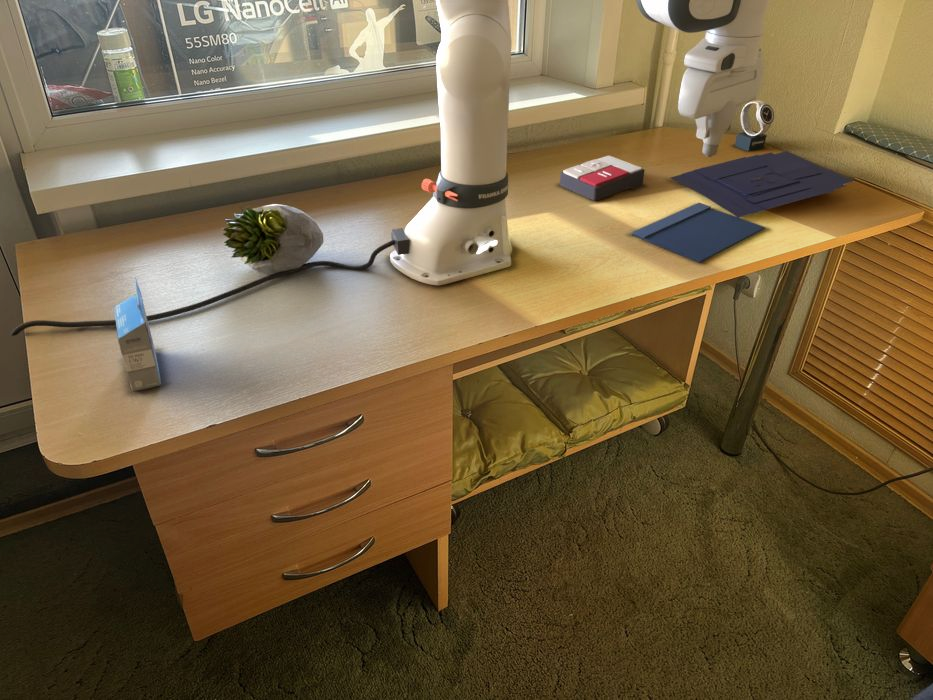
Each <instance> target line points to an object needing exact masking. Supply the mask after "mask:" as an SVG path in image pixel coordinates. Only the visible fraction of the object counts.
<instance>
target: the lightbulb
mask: <svg viewBox="0 0 933 700" xmlns="http://www.w3.org/2000/svg"><path fill="white" fill-rule="evenodd" d="M735 116H736V117H737V115H736V105H735V102H734V101H732V100H731V101H729V102H727V103H726V105H725V106H724V107H723V109H722V110H721V111H719V112H716V113H713V114H711V118H710V120H708V127H709V128H711V131H710V136H709V137H708V138H706V139H703V140H702V142H703V143H702V144H703V145H702V150H701V151H702V152H701V153H702V154H703V155H705V157H707V158H711V157H713V156H716V155H717V154H718V150H719V146H720V144H721V142H722V139H723V137H724V134H725V133H726V132H727V131H726V129H727V128H728V127H729V126H730V124H731V123H732V122H733V123H734V121H735V119H736V117H735ZM734 118H735V119H734Z"/></svg>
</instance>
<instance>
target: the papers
mask: <svg viewBox="0 0 933 700" xmlns="http://www.w3.org/2000/svg"><path fill="white" fill-rule="evenodd" d="M669 179H671V180H673V181H675V182H677V183H679V184H681V186H682V185H683V186H684V187H686V188H688V189H690V190H691V191H694V192H696V193H698V194H699V195H701V196H703V197H705V198H706V199H708V200H709V201H710V202H713V203H715V204H716V205H718V206H719V207H721V209H724V210H725V211H727V212H728V213H730V214H731V215H732V216H735V217H738V218H741V217H745V216H750V215H754V214H757V213H761V212H764V211H769V210H770V209H774V208H777V207H781V206H784V205H788V204H792V203H795V202H798V201H802V200H807V199H809V198H813V197H817V196H822V195H826V194H829V193H832V192H836V190H838V189H842V188H847V185H846V184H849V183H853V182H856V180H855V179H852V178H850V177H849V176H848V177H847V176H845V175H843V174H840V173H838V172H836V171H833V170H832V169H831V170H830V169H829V168H826V167H824V166H822V165H819V164H816V163H814V162H812V161H810V160H808V159H805V158H803V157H801V156H799V155H796V154H794V153H793V152H790V151H787V150H786V151H782V152H778V153H774V152H767V153H763V154H755V155H754V154H753V155H750V156H744V157H740V158H735V159H732V160H728V161H724V162H720V163H716V164H712V165H708V166H703V167H701V168H697V169H693V170H690V171H687V172H683V173H681V174H678V175H674V176H671V177H669Z"/></svg>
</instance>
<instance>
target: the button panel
mask: <svg viewBox="0 0 933 700" xmlns="http://www.w3.org/2000/svg"><path fill="white" fill-rule="evenodd" d="M645 171H646V170H645V169H644V168H643V167H641V166H639V165H636V164H633V163H630V162H627V161H625V160H622V159H619V158H617V157H614V156H612V155H605V156H603V157H599V158H597V159H596V158H594V159H592V160H588V161H585V162H583V163H581V164H577V165H574V166H571V167H568V168H566V169H563V171H561V172H559V186H560V187H562V188H564V189H567V190H569V191H571V192H573V193H575V194H578V195H580V196H582V197H584V198H587V199H590V200H592V201H595V202H597V201H599V200H601V199H604V198H607V197H609V196H612V195H614V194H617V193H620V192H622V191H625V190H628V189H630V190H634V189H636V188H639V187H642V186H643V185H644V178H645Z"/></svg>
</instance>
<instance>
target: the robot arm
mask: <svg viewBox="0 0 933 700" xmlns="http://www.w3.org/2000/svg"><path fill="white" fill-rule="evenodd" d="M635 2H636V4H637V8H638V10H639V12H640V13H641V15H642V16H643V17H644V18H646V19H647V20H648V21H650V22H654V23H656V24H662V25H664V26H666V27H668V28H670V29H673V30H676V31H678V32H681V33H686V34H692V33H693V34H694V33H700V32H705V36H704V38H701V40H700V41H699V42H698V43H697V44H696V45H695V46H694V47H692V48H691V49H690V50H688V51H687V52H686V53H685V56H684V60H683V62H684V63H683V64H684V65H683V66H684V67H687V68H686V70H684V73H683V76H682V80H681V85H680V88H679V89H680V90H679V96H678V104H677V109H678V113H679V115H680V116H681V117H685V118H689V119H692V120H695V124H696V134H695V137H696V138H697V139H699V140H702V141H703V139H706V138H708V137H709V136H710V131H711V128H709V127H708V120H710V118H711V114H713V113H716V112H719V111H721V110H722V109H723V107H724V106H725V105H726V103H727V102H729V101H731V100H732V101H734V102H735V105H736V116H735V118H734V120H735V119H736V117H737V115H738V114H739V112H740V110H741V106H742V105H743V104H747V103H749V102H753V101H756V100H757V98H758V96H759V94H760V92H761V87H762V83H763V82H762V81H763V75H764V67H765V61H764V59H763V50H762V48H761V44H762V39H763V34H764V19H765V15H766V13H767V10H768V8H769V7H770V2H771V0H635ZM435 4H436V8H437V12H438V19H439V20H438V21H439V25H440V26H439V27H440V31H441V32H440V33H441V36H440V37H441V39H440V40H441V41H440V43H439V44H438V48H437V51H436V59H435V60H436V62H435V63H436V84H437V85H436V86H437V101H438V113H439V121H440V122H439V123H440V169H441V170H440V172H439V173H438V176H437V179H436V181H433V180H431V179H430V178H425V179H423V180H422V182H421V184H420V185H421V189H422V190H423V191H424V192H428V193H429V194H432V197H431V198H430V200H429V201H428V202H427V203H426V204H425V205H424V207H422V209H420V211H419V212H418V213H417V214H416V215H415V216H414V217H413V218H412V219H411V220H410V222H409V223H408V224H406V226H405V229H403V227H402V228H401V227H400V228H391V229H390V235H391V237H390V238H391V240H390V241H387V242H385V243H383V244H381V245H379V246H378V247H377V248H376V249H374V250H373V251H372V253H371V255H370V257H369V260H368V261H367V262H366V263H364V264H360V265H349V264H344V263H340V262H336V261H330V260H316V261H310V262H306V263H305V264H303V265H302V266H301V267H300V268H296V269H292V270H287V271H282V272H278V273H274V274H272V275H268V276H267V275H265V276H264V277H261V278H258V279H256V280H254V281H251V282H249V283H245V284H244V285H242V286H239V287H236V288H234V289H230V290H228V291H226V292H223V293H220V294H218V295H215V296H213V297H210V298H208V299H205V300H202V301H199V302H195V303H193V304H189V305H186V306H183V307H179V308H175V309H171V310H168V311H164V312H159V313H154V314H150V315H146V316H147V320H148V322H151V321H156V320H162V319H166V318H170V317H174V316H177V315H181V314H185V313H188V312H191V311H194V310H197V309H200V308H203V307H206V306H208V305H209V306H210V305H211V304H214V303H216V302H219V301H222V300H224V299H227V298H230V297H232V296H235V295H238V294H240V293H243V292H245V291H248V290H250V289H252V288H254V287H257V286H259V285H262V284H264V283H267V282H269V281H273V280H275V279H278V278H281V277H283V276H286V275H289V274H292V273H295V272H298V271H300V270H301V271H302V270H304V269H309V268H314V267H321V266H323V267H333V268H337V269H345V270H352V271H364V270H366V269H369V268H371V267H372V266H373V264H374V262H375V259H376V257H377V256H378V255H379V254H380V253H381V252H382V251H384V250H386V249H388V248H390V247H392V246H393V248H394V250H393V251H391V252H390V254H389V261H390V263H391V265H392V266H393V267H394V268H395V269H397V270H398V271H399V272H400V273H402V274H404V276H407V277H409V278H410V279H412V280H414V281H417V282H420V283H423V284H426V285H431V286H437V287H438V286H444V285H447V284H448V285H449V284H451V283H455V282H458V281H463V280H466V279H469V278H474V277H477V276H480V275H481V276H482V275H485V274H489V273H492V272H495V271H498V270H503V269H506V268H509V267H511V266H512V258H511V254H512V252H513V246H512V243H511V239H510V234H509V227H508V226H509V225H508V215H507V197H508V195H509V185H510V184H509V173H508V171H507V162H508V157H507V156H508V137H509V135H508V134H509V109H510V108H509V106H510V87H511V82H510V81H511V62H512V61H511V60H512V30H511V19H510V7H509V0H435ZM733 125H734V121H733V122H732V123H731V124H730V126H729V127H728V128H727V129H726V131H725V132H727V131H730V130H732V128H733ZM111 326H116V319H109V320H108V319H107V320H84V321H83V320H82V321H57V320H44V319H43V320H42V319H40V320H39V319H38V320H37V319H36V320H29V321H25V322H23V323H21V324H19V325H18V326H17V325H16V327H15V328H14V329H12V331H11V332H10V334H9V335H10V337H14V336H17V335H19V334H20V333H21V332H22V331H23V330H25V329H29V328H32V327H54V328H86V327H87V328H88V327H89V328H90V327H111Z"/></svg>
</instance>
